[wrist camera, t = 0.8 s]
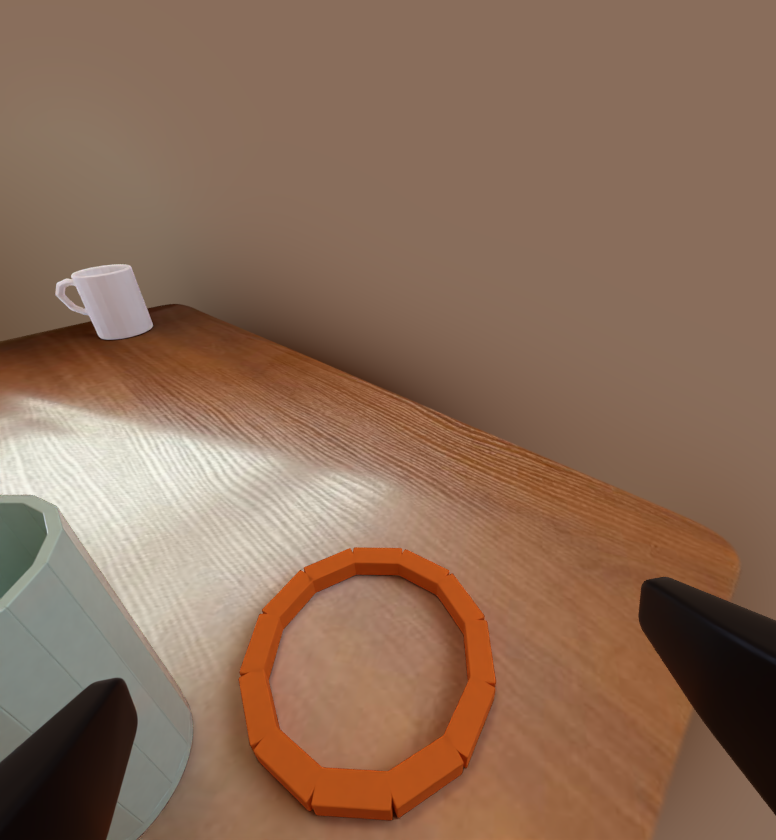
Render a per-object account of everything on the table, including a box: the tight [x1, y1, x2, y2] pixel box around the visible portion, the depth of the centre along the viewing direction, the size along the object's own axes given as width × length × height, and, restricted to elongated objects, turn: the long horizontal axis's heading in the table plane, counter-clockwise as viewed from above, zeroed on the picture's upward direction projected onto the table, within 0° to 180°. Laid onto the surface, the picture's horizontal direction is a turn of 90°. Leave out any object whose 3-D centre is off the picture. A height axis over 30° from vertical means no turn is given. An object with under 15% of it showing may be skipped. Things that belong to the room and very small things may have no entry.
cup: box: [0, 495, 193, 840], centre depth 15 cm, size 7×7×13 cm
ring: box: [239, 548, 496, 820], centre depth 21 cm, size 12×12×1 cm
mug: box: [55, 264, 153, 340], centre depth 65 cm, size 8×12×10 cm
